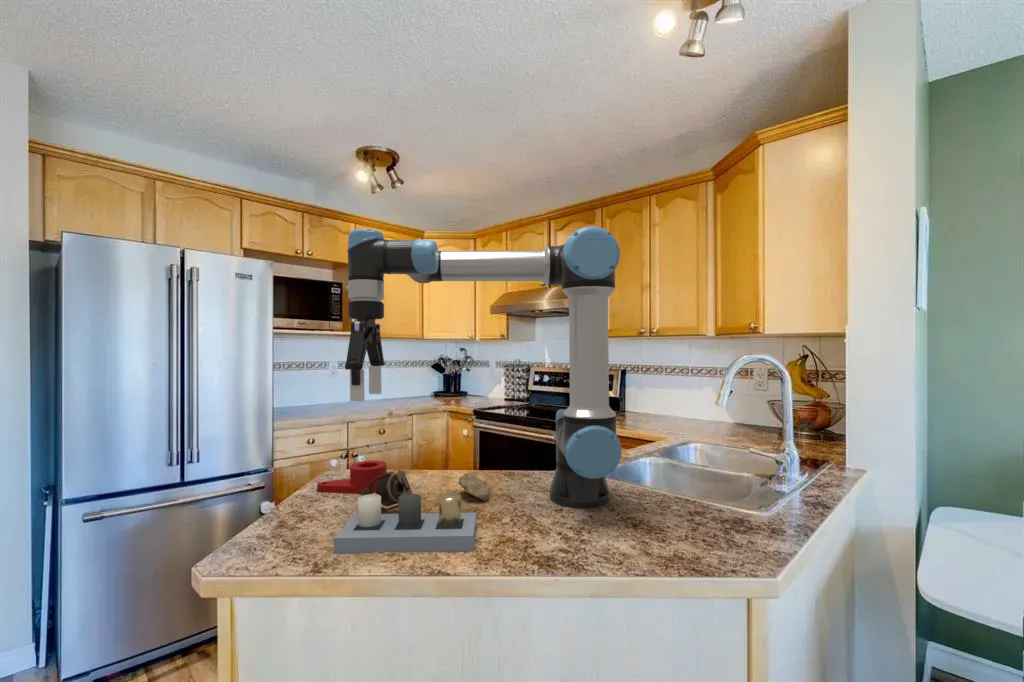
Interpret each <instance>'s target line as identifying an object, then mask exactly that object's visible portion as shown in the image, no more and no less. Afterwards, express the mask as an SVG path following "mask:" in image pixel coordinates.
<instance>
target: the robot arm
mask: <svg viewBox="0 0 1024 682" xmlns="http://www.w3.org/2000/svg"><path fill="white" fill-rule="evenodd" d="M347 242H348V243H347V250H346V253H347V267H348V268H347V273H348V274H347V275H348V276H347V277H348V283H347V284H348V285H346V287H345V289H346V291H347V293H348V299H349V300H351V301H348V303H347V304H348V305H347V310H348V312H347V316H348V318H349V319H351V320H356V321H351V322H350V337H349V341H348V342H349V343H348V346H347V347H348V348H347V354H346V362H345V364H344V367H345V370H349V402H365V369H363V368H364V363H365V358H366V355H367V356H368V360H369V364H370V365H368V394H369V395H381V394H382V367H383V366H385V365H386V361H385V358H384V353H383V345H382V344H383V343H382V338H381V325H380V323H376V320H382V319H384V317H385V304H384V303H383V302H382V301H383V300H384V299H385V285H384V280H385V279H384V278H385V275H406V276H408V277H409V278H410V279H411V280H412V281H413V282H416V283H420V284H429V283H431V282H542V283H544V284H545V285H546V286H562V287H561V290H562V293H563V294H564V295H565V296H566V297H567V298H568V311H569V312H568V314H569V315H568V319H569V320H568V323H569V324H568V325H569V327H568V328H569V329H568V330H569V331H568V332H569V333H568V335H569V340H568V341H569V343H568V345H569V346H568V347H569V405H568V406H567V408H565V409H558V410H557V411H556V412H555V413H556V414H555V420H554V423H555V445H556V446H555V453H556V455H555V460H556V461H555V463H556V467H555V472H554V475H553V479H552V482H551V485H550V487H549V488H550V489H549V500H550V501H551V503H554V504H556V505H558V506H561V507H564V508H571V509H579V510H580V509H587V510H588V509H596V508H601V507H604V506H606V505H608V504H610V502H611V492H610V488H609V485H608V482H607V479H606V477H607V476H609V475H610V474H612V472H614V470H615V469H616V468H617V467H618V466H619V463H620V461H621V459H622V445H621V442H620V439H619V437H618V435H617V414H616V412H615V411H614V410H613V409H612V408H611V406H610V392H609V391H610V389H609V387H610V383H609V382H610V381H609V380H610V379H609V378H610V375H609V374H610V373H609V368H610V367H609V366H610V365H609V363H610V360H609V298H610V296H611V295H612V294H613V293H614V292H615V291H616V269H617V267H618V265H619V262H620V258H621V250H620V249H621V248H620V245H619V243H618V240H617V239H616V238H615V236H614V234H612V233H611V232H610V231H609V230H607V229H605V228H603V227H601V226H597V225H596V226H595V225H589V226H584V227H581V228H579V229H577V230H575V231H574V232H572V233H571V234H570V235H569V236H568V237H567V239H566V240H565V243H564V244H561V245H555V246H553V245H552V246H551V245H549V246H548V245H547V246H546V247H545V248H544V249H543V250H542V249H541V250H439V249H438V244H437V242H436V241H435V240H432V239H423V238H418V239H385V238H384V233H383V232H382V231H380V230H377V229H373V228H370V229H369V228H356V229H355V228H354V229H353V230H351V231H350V232H349V234H348V240H347Z"/></svg>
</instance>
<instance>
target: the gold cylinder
mask: <svg viewBox="0 0 1024 682" xmlns="http://www.w3.org/2000/svg"><path fill="white" fill-rule="evenodd" d="M438 513H439V523H440V524H441V525H445V526H451V525H456V524H459V523H460V522H461V513H462V494H460V493H457V492H447V493H441V494H440V495H439V496H438Z"/></svg>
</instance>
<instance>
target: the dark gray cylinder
mask: <svg viewBox="0 0 1024 682" xmlns="http://www.w3.org/2000/svg"><path fill="white" fill-rule="evenodd" d="M398 505H399V507H398V514H399V525H401V526H414V525H417V524H419V523H421V513H422V495H421V494H419V493H413V494H404V495H401V496H399V503H398Z"/></svg>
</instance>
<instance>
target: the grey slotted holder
mask: <svg viewBox="0 0 1024 682" xmlns="http://www.w3.org/2000/svg"><path fill="white" fill-rule="evenodd" d="M477 519H478V518H477V512H461V522H460V523H459V524H456V525H451V526H445V525H441V524H440V523H439V512H438V513H436V512H430V513H429V512H428V513H427V512H426V513H425V512H423V513H422V512H421V523H419V524H417V525H414V526H401V525H399V513H381V523H380V524H378V525H376V526H372V527H361V526H359V525H358V513H357V514H353V515H352V516H351V517H350V519H349V520H348V521H346V524H344V526H343V527H342V528H341V529H340V530H339V532H337V534H336V535H335V536H334V537H333V554H375V553H376V552H380V554H381V553H382V552H383V553H384V552H385V553H386V552H388V553H437V552H439V553H440V552H442V553H443V552H445V553H446V552H447V553H449V552H474V548H475V541H476V533H477V523H478V521H477ZM374 552H375V553H374Z"/></svg>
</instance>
